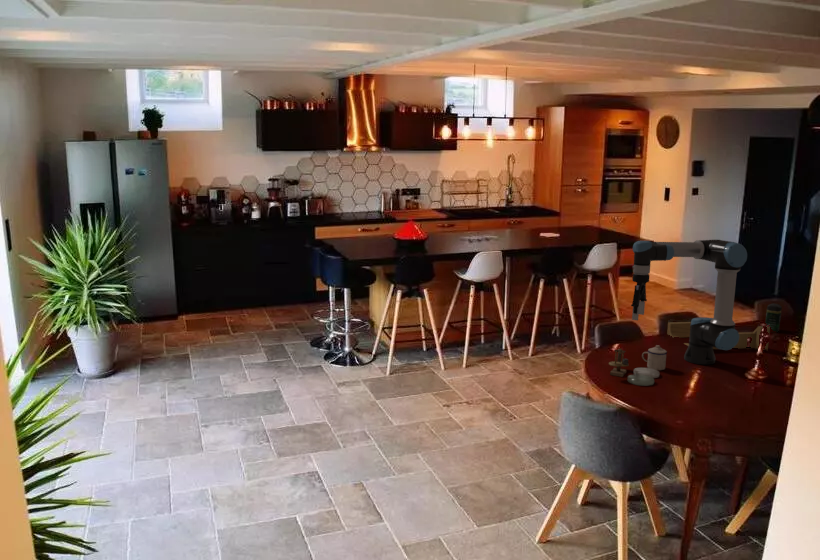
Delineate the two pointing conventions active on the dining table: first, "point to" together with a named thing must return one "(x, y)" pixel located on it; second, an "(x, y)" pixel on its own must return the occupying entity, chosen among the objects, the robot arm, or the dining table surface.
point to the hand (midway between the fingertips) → (638, 317)
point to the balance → (619, 364)
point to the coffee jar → (773, 316)
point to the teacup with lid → (656, 358)
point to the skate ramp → (684, 331)
